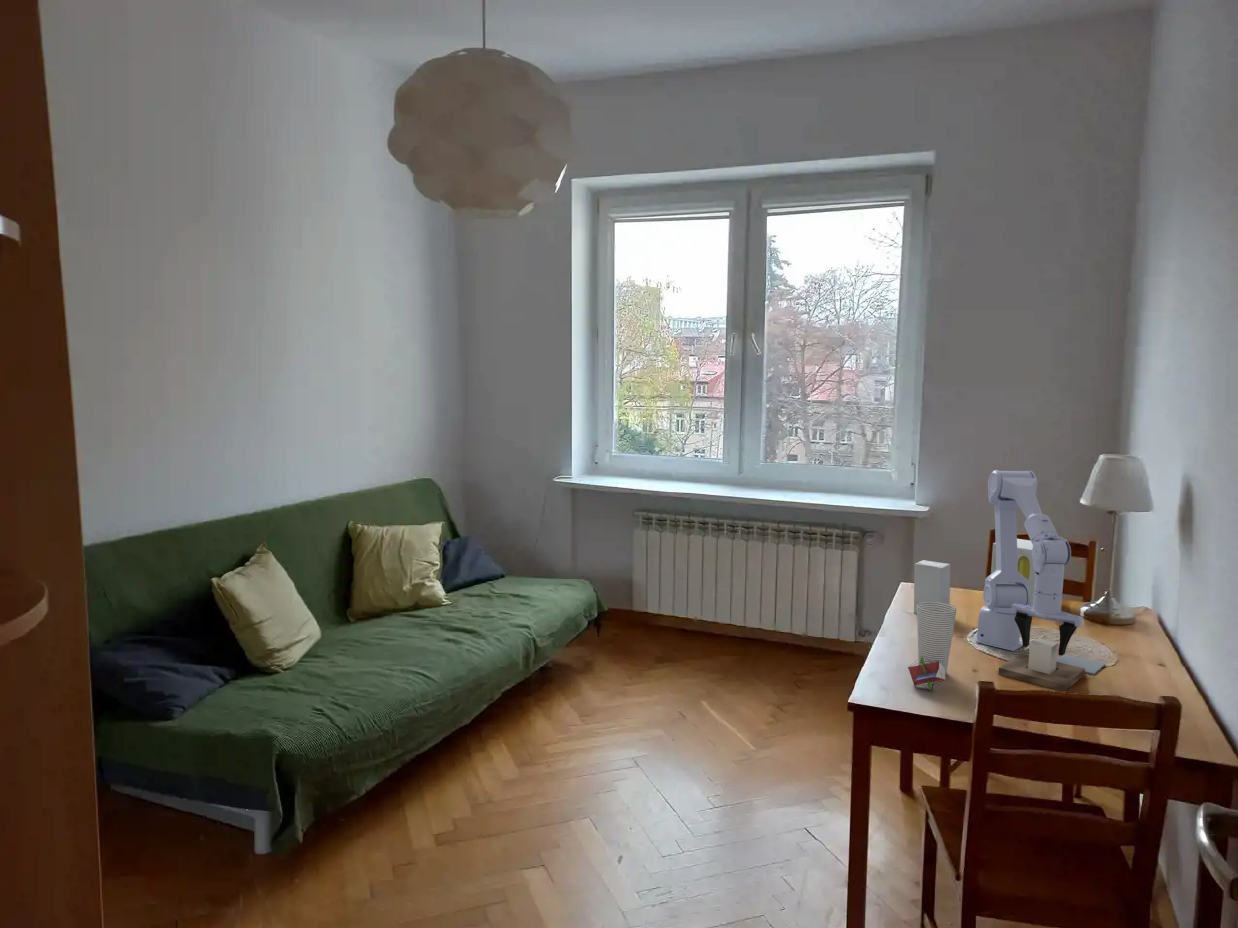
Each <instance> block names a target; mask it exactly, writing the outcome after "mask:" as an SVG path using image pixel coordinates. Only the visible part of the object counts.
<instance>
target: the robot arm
mask: <svg viewBox="0 0 1238 928" xmlns="http://www.w3.org/2000/svg"><path fill="white" fill-rule="evenodd" d="M1037 488H1038V478H1037V475H1036V474H1035V472H1033V470H998V469H994V470H992V472H991V473H990V475H989V477H988V480H987V492H988V493H987V496H988V502H989V503H990V504H992V505H993V506H994V532H995V542H996V571H995V572H994V573H992V574H991V573H990V575H988V576H987V577H986V578H985V580H984V588H983V591H982V592H983V594H982V596H983V602H984V604H985V605H983V606H982V607H981V609H980V611H979V613H978V619H977V620H978V621H977V635H976V640H975V643H977V644H983V645H985V646H986V645H987V646H991V647H995V648H1000V649H1003V650H1007V651H1011V652H1015V651H1017V650H1019V648H1022V647H1023V648H1027V647H1030V643H1031V627H1032V621H1033V618H1036V619H1037V618H1038V619H1043V620H1048V621H1051V622H1057V623H1062V624H1060V625H1059V643H1058V656H1060V657H1061V656H1062V655H1064V654H1066V650H1067V648H1068V644H1069V642H1070V640H1071V638H1072V636H1073V635H1074V633H1075V632H1076V630H1077V629H1078V628H1080V627H1082V626H1083V622H1084V621H1083V620H1084V617H1083V616H1080V615H1075V614H1073V613H1069V612H1067V611H1066V612H1065V611H1062V602H1063V601H1062V600H1063V588H1064V578H1065V566H1067V565H1069V563H1070V562H1071V558H1072V550H1071V549H1072V547H1071V545H1070V543H1069V541H1068V540H1067V539H1066V538H1063V536H1060V535H1059V534H1058V532H1057V530H1056V528H1055V526H1054V524H1053V522H1052V520H1051V517H1050V516H1049V515H1047V514H1044V513H1042V509H1041V505H1040V504H1039V500H1038V497H1037V495H1036V494H1037V491H1038V489H1037ZM1017 508H1019V510H1021V512H1022V514H1023V516H1024V517H1025V519H1026V520H1025V521H1024V525H1023V526H1024V528H1025V531H1026V533H1027V535H1028V538H1029V540H1030V541H1031V542H1032V544H1033V548H1032V558H1033V567H1034V570H1035V585H1034V597H1033V606H1029V605H1030V603H1031V593H1030V590H1029V584H1028V580H1027V579H1026V578H1025V577H1024V576H1023V575H1021V574H1020V573H1019V572H1018V557H1017V539H1018V531H1017V528H1018V527H1017V526H1018V525H1017ZM999 582H1014V583H1015V584H997V583H999ZM1020 639H1021V640H1020Z"/></svg>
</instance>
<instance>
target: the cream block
mask: <svg viewBox="0 0 1238 928" xmlns="http://www.w3.org/2000/svg"><path fill="white" fill-rule="evenodd" d="M1058 649H1059V643H1058V642H1055V641H1049V640H1046V639H1042V638H1036V639H1034V640H1032V641H1030V643H1029V651H1028V652H1029V653H1028V655H1029V663H1028V669H1031V670H1035V671H1038V672H1042V673H1046V674H1050V675H1051V674H1053V673H1054V672H1055V671H1056V660H1057V659H1058V657H1057V656H1058Z"/></svg>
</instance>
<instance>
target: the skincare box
mask: <svg viewBox="0 0 1238 928" xmlns="http://www.w3.org/2000/svg"><path fill="white" fill-rule="evenodd" d="M913 575H914V576H913V580H914V581H913V583H914V584H913V585H914V587H913V614H915V615H917V604H918V603H919V602H923V601H936V602H943V603H947V604H951V564H950V563H946V562H945V563H943V562H937V561H932V560H926V559H923V560H920V561H918V562H916V563H914V574H913Z"/></svg>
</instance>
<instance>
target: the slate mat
mask: <svg viewBox="0 0 1238 928" xmlns="http://www.w3.org/2000/svg"><path fill="white" fill-rule="evenodd" d="M1056 662H1060V663H1064V664H1068V665H1072V666H1076V667H1080V668H1085V674H1088V675H1092V676H1095V675H1096V674H1097V673H1099V671H1101V670H1102V669H1103V668H1105V666H1106V663H1104V662H1099V661H1096V660H1091V659H1087V658H1083V657H1080V656H1079V657H1078V656H1074V655H1069V654H1066V653H1065V654H1064V655H1062V656H1061V655H1060V656H1059V657H1057V660H1056ZM1102 667H1103V668H1102ZM1101 668H1102V669H1101Z"/></svg>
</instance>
